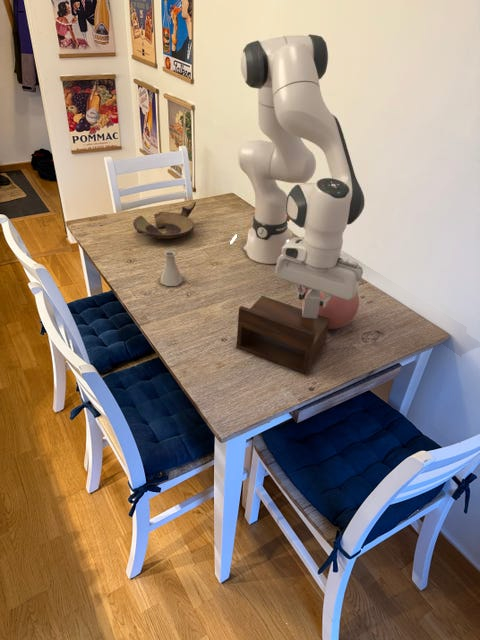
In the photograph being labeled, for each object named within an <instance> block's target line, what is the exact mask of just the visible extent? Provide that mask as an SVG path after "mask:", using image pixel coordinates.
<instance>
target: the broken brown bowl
mask: <svg viewBox="0 0 480 640" xmlns="http://www.w3.org/2000/svg"><path fill="white" fill-rule="evenodd" d="M196 204H197V202H196V201H191V203H190V204H189V205H186V206H182V207H181V213H176V212H169V211H159V212H158V213H154V222H155V225H156V226H154V225H153V224H151V222H149V221H148V220H147V219H145V217H144V216H143V215H139V216H137V217H135V218H134V220H133V222H132V224H133V228H134V229H135V231H136V233H137V234H141V235H143V236H146V237H152V238H156V239H172V238H173V239H174V238H180V237H182V236H185V235H188V234H190V233H191V232H193V230H194V228H195V223H194V221H193V220H192V219H190V218H189V216H190V215H191V213H192V211H194V209H195V207H196ZM163 228H165V229H166V231H167V232H165V233H163V232H162V231H160V230H159V229H163Z"/></svg>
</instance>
